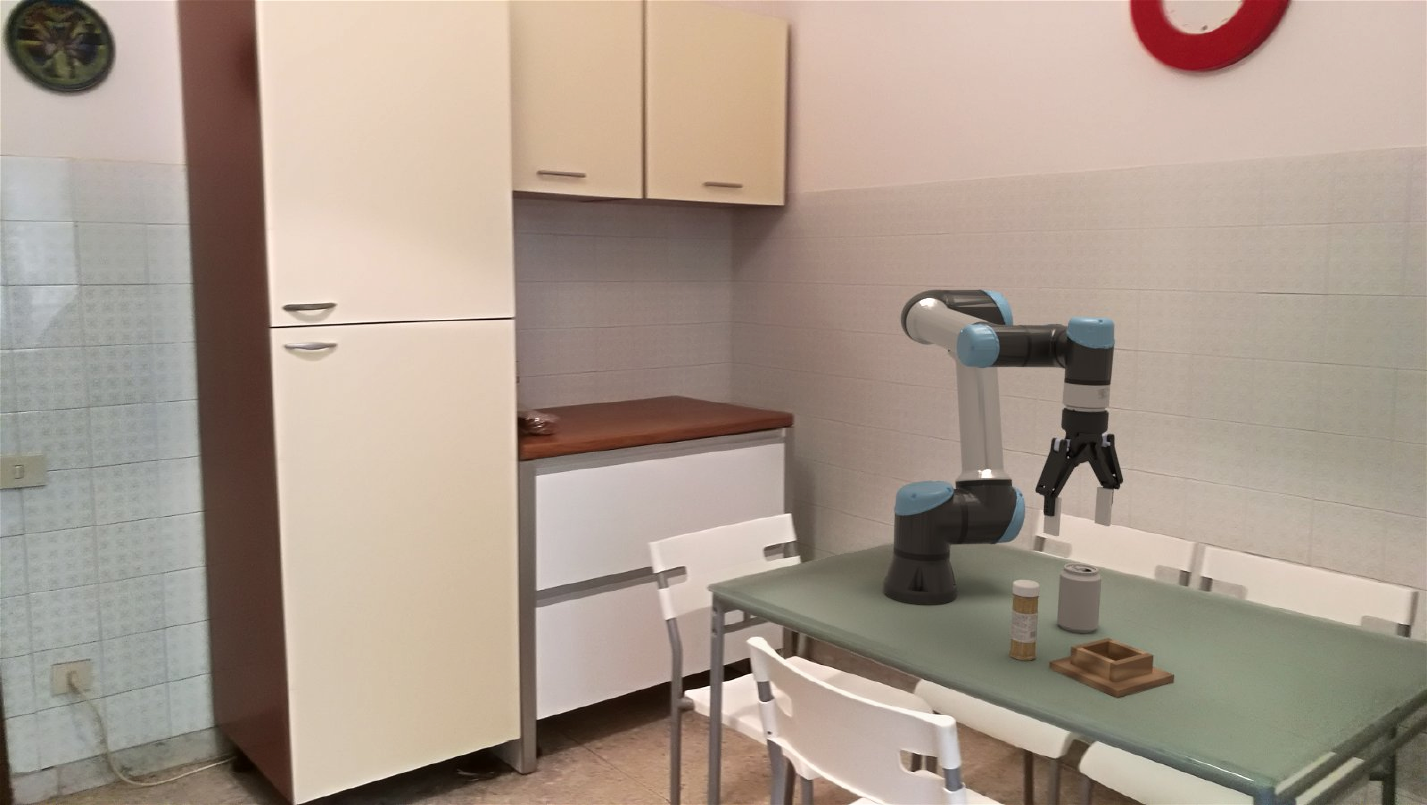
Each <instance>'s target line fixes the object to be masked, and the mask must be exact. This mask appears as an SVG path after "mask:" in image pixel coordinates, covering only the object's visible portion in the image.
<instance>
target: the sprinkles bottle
mask: <svg viewBox="0 0 1427 805" xmlns="http://www.w3.org/2000/svg"><path fill="white" fill-rule="evenodd" d="M1011 588H1012V590H1011V592H1012V595H1013V596H1012V611H1011V620H1010V623H1011V624H1010V644H1009V645H1010V647H1009V648H1010V649H1009V652H1008V653H1009V654H1008V655H1009V656H1010V657H1011V658H1014V659H1016V660H1019V661H1033V660H1034V659H1036V657H1037V656H1036V654H1037V653H1036V643H1037V640H1038V639H1037V638H1038V637H1037V636H1038V621H1039V620H1038V618H1039V611H1038V610H1039V598H1040V591H1041V590H1040V589H1041V586H1040V584H1039V583H1038V582H1037V581H1034V580H1029V579H1017V580H1014V581H1013V582H1012V587H1011Z"/></svg>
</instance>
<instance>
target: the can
mask: <svg viewBox="0 0 1427 805" xmlns="http://www.w3.org/2000/svg"><path fill="white" fill-rule="evenodd" d="M1101 589H1102V575H1101V574H1100V573H1099V568H1098V567H1096V566H1094V565H1090V564H1086V563H1080V562H1079V563H1078V562H1076V563H1074V562H1070V563H1066V564H1064V565H1063V569H1062V570H1061V571H1060V572H1059V584H1058V597H1057V599H1058V600H1057V601H1058V602H1057V616H1056V618H1057V620H1056V622H1057V623H1058V625H1059V626H1060V627H1061V628H1062V629H1064V630H1066V631H1069V632H1072V633H1078V634H1085V633H1086V634H1087V633H1092V632H1094V631H1095V630H1096V629H1098V628H1099V622H1100V621H1099V620H1100V605H1101V604H1100V603H1101Z"/></svg>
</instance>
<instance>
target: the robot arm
mask: <svg viewBox="0 0 1427 805" xmlns="http://www.w3.org/2000/svg"><path fill="white" fill-rule="evenodd" d="M900 324H901V328H902V331H903V332H904V334H905V335H906V337H908V338H909V339H910V340H912V341H914V342H916V343H918V344H921V345H927V346H928V345H929V346H930V345H935V346H939V347H940V348H943V349H945V350H947V355H948V356H949V357H950V358H952V360H954V362H955V371H956V373H955V374H956V389H957V390H956V391H957V405H958V406H957V408H958V426H959V427H958V428H959V439H960V456H961V457H960V458H961V473H960V474H959V475H958V476H957V477H956V479H955V480H954V482H955V488H954V487H953V484H952V483H950V482H947V481H944V480H934V481H933V480H921V481H915V482H910V483H906V484H905V485H903V486H901V487H900V488H899V489H897V492H896V494H895V503H894V507H893V513H894V523H893V524H894V525H893V526H894V527H893V550H892V551H893V553H892V554H893V555H892V559H891V561H890V564H889V566H888V571H887V574H886V576H885V577H884V580H883V588H882V589H883V594H885V596H887V597H889V598H891V599H892V600H895V601H899V602H903V603H909V604H915V605H941V604H942V605H943V604H947V603H950V602H953V601H955V600H956V599H957V597H958V584H957V582H956V579H955V574H954V571H953V566H952V563H951V557H950V556H951V546H953V545H988V544H989V545H996V544H1006V543H1010V542H1012V541H1014V540H1015V539H1016V538H1017V537H1019V534H1020V532H1021V530H1022V529H1023V526H1024V522H1025V518H1026V502H1025V498H1024V497H1023V493H1022V491H1021V490H1020V489H1019V488H1017V487H1016V486H1013V478H1012V477H1011V476H1010V475H1009V474H1008V473H1007V472H1006V471H1005V469H1004V454H1003V453H1004V452H1003V451H1004V450H1003V437H1002V436H1003V435H1002V421H1001V407H1000V406H1001V405H1000V404H1001V403H1000V401H1001V400H1000V389H999V387H1000V386H999V371H998V370H999V369H998V368H1057V369H1058V368H1059V369H1062V370H1063V369H1064V382H1063V388H1062V390H1063V392H1062V404H1063V405H1064V406H1065V407H1064V408H1063V409H1062V410H1061V426H1060V427H1061V429H1062V430H1064V431H1065V437H1064V439H1063V438H1059V437H1058V438H1057V437H1052V438H1051V441H1050V449H1049V452H1048V455H1047V458H1046V460H1045V462H1044V466H1043V467H1042V471H1041V473H1040V476H1039V478H1038V481H1037V484H1036V487H1035V489H1034V490H1035V493H1036V494H1039V495H1040V496H1042V497H1043V499H1044V500H1043V512H1042V513H1043V515H1044V517H1043V533H1044V534H1046V535H1050V536H1052V537H1053V536H1054V537H1059V536H1060V529H1061V527H1060V526H1061V515H1062V514H1061V512H1062V497H1059V496H1060V494H1061V492H1062V490H1063V489H1064V487H1065V485H1066V484H1067V482H1068V480H1069V479H1070V476H1071V475H1072V473H1073V472H1074V470H1075V468H1077V467H1079V466H1080V465H1081V464H1084V463H1087V462H1088V464H1089V465H1090V467H1091V469H1092V471H1093V473H1094V475H1095V476H1096V477H1095V478H1097V480H1098V482H1099V484H1100V486H1097V487H1096V498H1095V511H1094V513H1095V514H1094V524H1097V525H1101V526H1105V527H1111V521H1112V508H1113V507H1112V506H1113V504H1114V493H1115V492H1114V490H1120V488H1121V485H1122V484H1123V483H1124V478H1123V473H1122V470H1121V465H1120V462H1119V459H1118V454H1117V449H1116V447H1115V443H1116V442H1115V440H1116V438H1115V434H1114V433H1108V429H1109V414H1110V413H1109V412H1108V410H1107V409H1108V407H1109V406H1110V399H1111V398H1110V396H1111V384H1112V375H1113V363H1114V353H1115V352H1114V351H1115V344H1116V340H1115V323H1114V321H1113V320H1112V319H1111V318H1108V317H1095V316H1072V317H1071V318H1070V319H1069V320H1068V323H1067V325H1063V324H1061V323H1046V324H1042V325H1041V324H1035V325H1034V324H1031V325H1030V324H1017V325H1016V324H1015V325H1014V317H1013V311H1012V308H1011V306H1010V304H1009V301H1008V300H1007V298H1006V297H1004V295H1003V294H1002V293H1000V292H999V291H995V290H994V291H993V290H984V289H929V290H926V291H921V292H920V293H917V294H915V295H914V296H912V297H911V298H910V299H909V300H908V301H907V302H906V303H905V305H904V306H903V307H902V309H901V313H900Z"/></svg>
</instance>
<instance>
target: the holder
mask: <svg viewBox="0 0 1427 805" xmlns="http://www.w3.org/2000/svg"><path fill="white" fill-rule="evenodd" d="M1048 668H1049V669H1050V670H1052V671H1054V672H1057V673H1059V674H1061V675H1064V676H1066V677H1069V678H1071V679H1073V680H1075V681H1078V682H1080V683H1082V684H1085V685H1087V686H1089V687H1091V688H1094V689H1096V690H1098V691H1100V692H1103V693H1105V694H1107V695H1110V696H1112V697H1114V698H1116V699H1118V698H1121V697H1125V696H1129V695H1132V694H1136V693H1139V692H1142V691H1146V690H1149V689H1153V688H1156V687H1159V686H1161V687H1162V686H1164V685H1166V684H1171V683H1174V682H1175V674H1173V673H1171V672H1168V671H1166V670H1163V669H1160V668H1159V667H1155V666H1154V654H1152V653H1148V652H1146V651H1145V650H1141V649H1139V648H1136V647H1132V646H1131V645H1128V644H1125V643H1122V642H1120V641H1117V640H1114V639H1111V638H1109V637H1106V638H1102V639H1098V640H1094V641H1088V642H1085V643H1081V644H1076V645H1073V646H1070V656H1065V657H1062V658H1057V659H1054V660H1050V661H1049V662H1048Z"/></svg>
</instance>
